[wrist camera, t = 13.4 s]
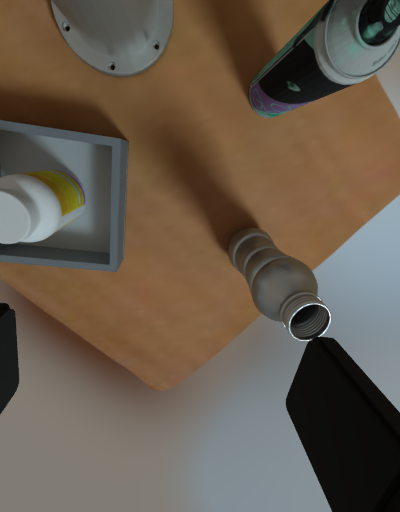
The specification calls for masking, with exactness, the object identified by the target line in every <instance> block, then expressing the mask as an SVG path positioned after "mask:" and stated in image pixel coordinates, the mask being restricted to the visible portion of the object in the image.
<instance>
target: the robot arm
mask: <svg viewBox="0 0 400 512" xmlns="http://www.w3.org/2000/svg"><path fill="white" fill-rule="evenodd" d="M51 6H52V10H53V13H54V17H55V20H56V23H57V25H58V27H59V29H60V32H61V34H62V35H63V37H64V39H65V40H66V42H67V43H68V45H69V46H70V47H71V49H72V50H73V51H74V52H75V53H76V54H77V55H78V56H79V57H80V58H81V59H82V60H83V61H84V62H85V63H86V64H88V65H89V66H91V67H92V68H93V69H95V70H97V71H99V72H101V73H104V74H106V75H110V76H115V77H129V76H134V75H137V74H139V73H142V72H144V71H146V70H147V69H148V68H150V67H151V66H152V65H154V64H155V62H156V61H157V60H158V59H159V58H160V57H161V55H162V53H163V52H164V50H165V48H166V46H167V44H168V41H169V38H170V35H171V30H172V23H173V2H172V0H51ZM67 28H70V30H69V31H68V32H67ZM155 46H159V49H158V50H156V49H155ZM112 66H115V69H114V70H111V67H112ZM18 384H19V368H18V351H17V335H16V318H15V311H14V310H13V309H10V307H9V305H8V304H6V303H0V414H1V413H2V411H3V410H4V408H5V407H6V405H7V404H8V402H9V401H10V400H11V398H12V397H13V395H14V393H15V392H16V390H17V387H18ZM286 408H287V411H288V413H289V415H290V418H291V420H292V422H293V424H294V427H295V429H296V431H297V433H298V435H299V438H300V440H301V442H302V444H303V447H304V449H305V451H306V454H307V456H308V458H309V460H310V462H311V465H312V467H313V469H314V472H315V474H316V476H317V478H318V481H319V483H320V485H321V487H322V489H323V492H324V494H325V496H326V499H327V501H328V503H329V505H330V508H331V510H332V512H400V412H399V411H398V410H397V409H396V408H395V407H394V406H393V404H392V403H391V402H390V401H389V400H388V399H387V398H386V397H385V395H384V394H383V393H382V392H381V391H380V390H379V389H378V387H377V386H376V385H375V384H374V383H373V382H372V381H371V380H370V378H369V377H368V376H367V375H366V374H365V373H364V372H363V371H362V369H361V368H360V367H359V366H358V365H357V364H356V363H355V362H354V360H353V359H352V358H351V357H350V356H349V355H348V354H347V352H346V351H345V350H344V349H343V348H342V347H341V346H340V345H339V343H338V342H337V341H336V340H335V339H333V338H328V337H319V336H316V337H314V338H313V339H312V340H310V341H309V342H308V344H307V346H306V349H305V351H304V354H303V356H302V359H301V362H300V364H299V367H298V369H297V372H296V374H295V377H294V380H293V382H292V385H291V388H290V390H289V392H288V395H287V398H286Z"/></svg>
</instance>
